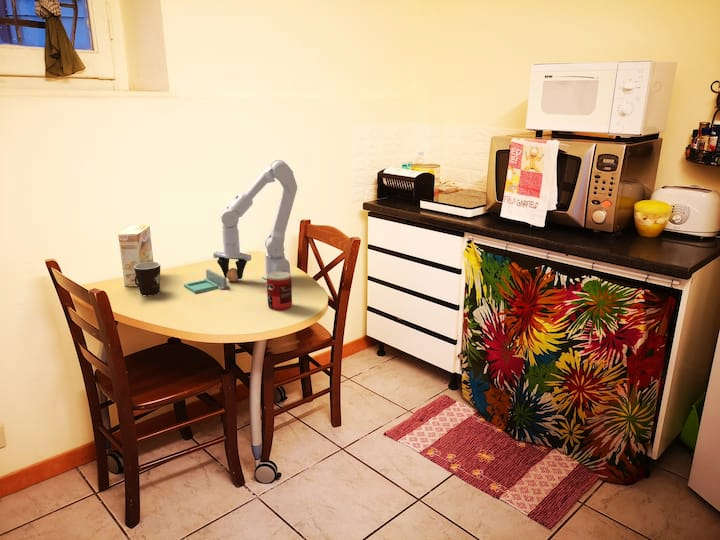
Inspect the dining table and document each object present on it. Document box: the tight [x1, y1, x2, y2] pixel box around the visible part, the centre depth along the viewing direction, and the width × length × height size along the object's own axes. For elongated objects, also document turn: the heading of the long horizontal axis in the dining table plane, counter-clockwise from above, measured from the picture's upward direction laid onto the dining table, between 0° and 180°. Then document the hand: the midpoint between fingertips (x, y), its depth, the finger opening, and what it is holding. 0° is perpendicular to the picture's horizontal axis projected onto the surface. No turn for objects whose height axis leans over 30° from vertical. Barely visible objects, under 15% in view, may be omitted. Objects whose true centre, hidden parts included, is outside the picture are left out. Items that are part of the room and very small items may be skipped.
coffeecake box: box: [117, 224, 154, 285], centre depth 201 cm, size 15×7×20 cm, turn 4°
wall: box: [203, 269, 230, 291], centre depth 199 cm, size 14×3×4 cm, turn 41°
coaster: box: [183, 278, 220, 294], centre depth 195 cm, size 9×9×1 cm
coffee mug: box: [134, 261, 161, 297], centre depth 187 cm, size 12×9×10 cm
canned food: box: [266, 271, 293, 311], centre depth 177 cm, size 8×8×11 cm
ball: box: [226, 267, 239, 283], centre depth 202 cm, size 5×5×5 cm
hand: (233, 277), depth 202 cm, fingers closed on ball, 5 cm apart
